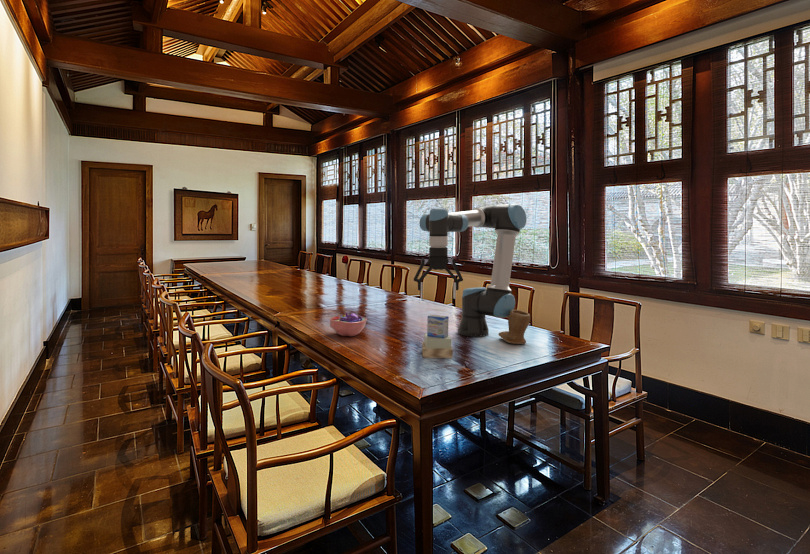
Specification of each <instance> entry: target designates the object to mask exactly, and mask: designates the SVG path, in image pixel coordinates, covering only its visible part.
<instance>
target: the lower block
mask: <svg viewBox="0 0 810 554" xmlns="http://www.w3.org/2000/svg"><path fill="white" fill-rule="evenodd" d="M453 351H454V349H453V346H452V345H451V349H427V348H426V346H425V343H424V341H422V342H421V352H422V353H421V354H422V358H423V359H425V358H426V359H427V358H428V359H431V358H432V359H434V358H436V359H443V358H444V359H453V357H454V355H453V354H454V352H453Z"/></svg>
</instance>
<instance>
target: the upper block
mask: <svg viewBox="0 0 810 554" xmlns="http://www.w3.org/2000/svg"><path fill="white" fill-rule="evenodd" d="M423 336H424V340H423V342H424V343H425V346H426V348H427V349H451V346H452V338H451V336H450V334H448V337H446V338H437V337H429V336H427V332H426V333H424V335H423Z"/></svg>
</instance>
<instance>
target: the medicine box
mask: <svg viewBox="0 0 810 554" xmlns="http://www.w3.org/2000/svg"><path fill="white" fill-rule="evenodd" d="M449 318H450V316H447V315H439V314H430V315H427V324H426V327H427V329H426V330H427V331H426V333H427V336H429V337H437V338H446V337H448V335H449Z"/></svg>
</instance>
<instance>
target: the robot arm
mask: <svg viewBox="0 0 810 554" xmlns="http://www.w3.org/2000/svg"><path fill="white" fill-rule="evenodd" d="M526 225H527V212H526V211H525V208H524V207H523V206H522V205H521V204H518V203H505V204H490V205H485V206H482V207H481V206H480V207H474V208H473V209H471V210H465V211H464V210H463V211H454V212H449V210H448V209H447V208H431V209H430V210H429V213H427V214H424V215H422V216H421V217H420V219H419V227H420V229H421V230H422V231H423V232H428V234H429V241H428V242H429V243H428V245H429V248H428V251H429V252H428V257H429V258H427V259H426V258H421V259H420V260H421V261H420V265H419V267H418V269H417V271H416V273H415V274H414V278H413V281H414V282H416V283H417V290H418V291H420V299H421V300H422V299H423V295H424V293H423V291H424V289H423V288H424V287H423V285H424V284H423V283H424V282H422V281H423V280H424V279H425V278H426V277H427V275H428V274H429V273H430V272H431V271H432V270H435V271H436V270H445V271H446V272H447V273H448V275H450V277H451V278H452V279H453V280H454V281H453V284H452V285H453V286H452V287H453V288H452V289H453V292H452V293H453V294H452V295H453V296H452V298H453V299H454V300H456V299H457V291H459V287H460V286H459V283H460V282H464V278H463V276H462V274H461V272H460V270H459V268H458V266H457V263H456V259H455V258H448V253H449V252H448V250H449V249H448V247H447V246H448V245H449V241H448V240H449V239H448V237H449V233H460V232H465V231H466V230H468V228H469V227H474V228H476V229H477V228H478V229H479V228H484V229H494V232H495V233H496V244H495V249H494V258H493V266H492V271H491V281H490V284H489V285H488V286H486V287H484V286H483V287H481V286H480V287H467V288H464V289H463V290H462V295H461V319H460V322H459V324H458V328H457V333H458V334H459V335H461V336H464V337H473V338H474V337H476V338H477V337H486V336H488V335H489V332H490V331H489V327H488V324H487V320H486V316H488V317H494V318H501V319H504V318H505V319H506V318H508V317H509V313H510V311H511V310H515V306H516V299H515V298H516V297H515V295H513V294H512V289H511V288H510V282H511V281H510V280H511V275H512V274H511V273H512V268H513V267H512V265H513V259H514V252H515V244H516V237H517V236H518V235H520V232H521V230H522V229H524V228H525V226H526ZM449 263H450V264H451V265H452V267H453V269H454V270H455V273H456V275H457V277H458V278H457V277H456V276H455V274H453V272H452V271H451V270H450V268H449V267H448V266H447V265H448V264H449ZM426 264H429V265H428V267H427V269H426V270H425V271H424V272H423V273H422V274H421V272H422V270H423V268H424V267H425V265H426ZM420 274H421V276H420ZM419 276H420V277H419Z"/></svg>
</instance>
